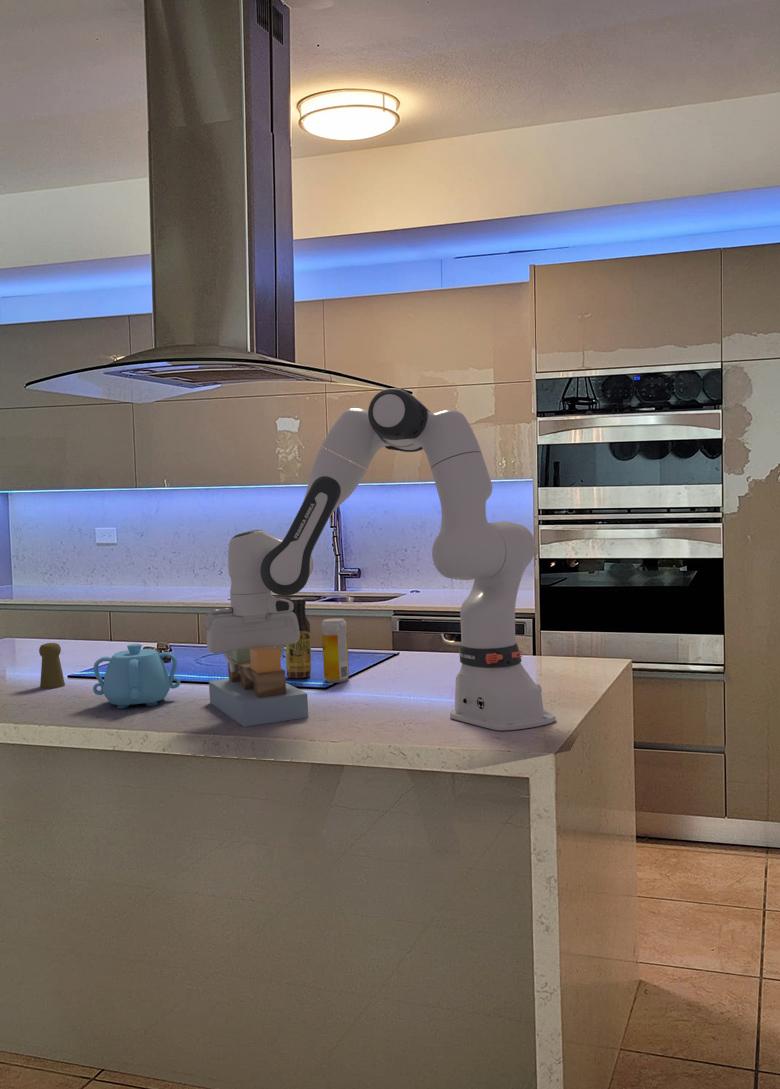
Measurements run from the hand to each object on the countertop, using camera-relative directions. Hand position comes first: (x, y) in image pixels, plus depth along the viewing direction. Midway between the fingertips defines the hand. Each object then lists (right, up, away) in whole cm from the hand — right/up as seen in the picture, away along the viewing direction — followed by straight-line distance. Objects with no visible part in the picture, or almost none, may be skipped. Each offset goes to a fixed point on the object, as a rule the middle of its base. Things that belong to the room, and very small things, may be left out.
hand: (255, 668), depth 220 cm
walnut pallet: (0, -4, +1) cm, 4 cm away
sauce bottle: (+6, -7, +35) cm, 36 cm away
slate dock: (0, -9, +1) cm, 9 cm away
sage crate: (-3, +1, +7) cm, 8 cm away
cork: (-56, -9, +37) cm, 68 cm away
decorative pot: (-29, -10, +14) cm, 34 cm away
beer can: (+16, -7, +28) cm, 33 cm away
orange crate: (+3, +1, -7) cm, 7 cm away
